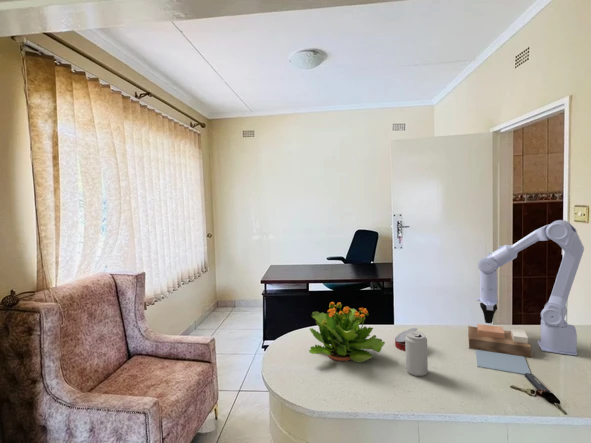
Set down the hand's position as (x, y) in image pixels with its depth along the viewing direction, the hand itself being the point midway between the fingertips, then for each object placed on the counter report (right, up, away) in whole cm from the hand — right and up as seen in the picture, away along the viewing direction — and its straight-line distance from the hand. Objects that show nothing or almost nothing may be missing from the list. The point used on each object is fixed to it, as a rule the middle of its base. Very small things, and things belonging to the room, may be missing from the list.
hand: (488, 322), depth 127 cm
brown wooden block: (-2, -5, -9) cm, 11 cm away
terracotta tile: (-4, -2, -8) cm, 9 cm away
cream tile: (+3, -2, -13) cm, 13 cm away
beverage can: (-37, -8, -25) cm, 45 cm away
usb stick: (-6, -8, -34) cm, 35 cm away
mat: (-8, -6, -21) cm, 23 cm away
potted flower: (-59, -8, -11) cm, 61 cm away
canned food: (-34, -7, -7) cm, 35 cm away
